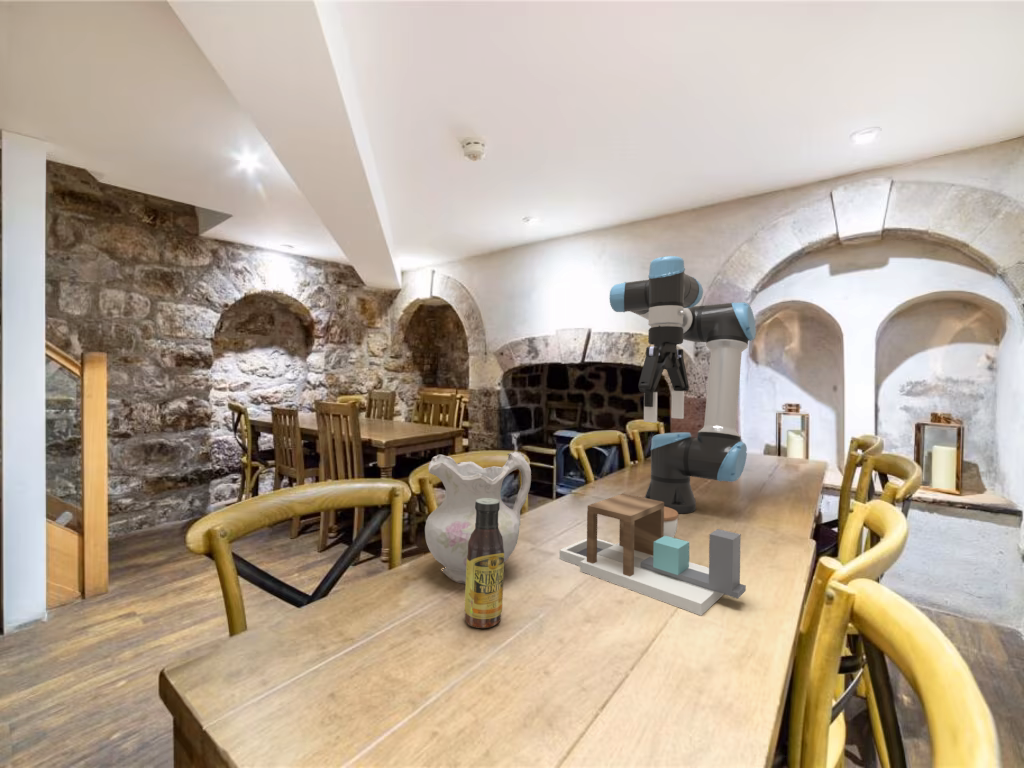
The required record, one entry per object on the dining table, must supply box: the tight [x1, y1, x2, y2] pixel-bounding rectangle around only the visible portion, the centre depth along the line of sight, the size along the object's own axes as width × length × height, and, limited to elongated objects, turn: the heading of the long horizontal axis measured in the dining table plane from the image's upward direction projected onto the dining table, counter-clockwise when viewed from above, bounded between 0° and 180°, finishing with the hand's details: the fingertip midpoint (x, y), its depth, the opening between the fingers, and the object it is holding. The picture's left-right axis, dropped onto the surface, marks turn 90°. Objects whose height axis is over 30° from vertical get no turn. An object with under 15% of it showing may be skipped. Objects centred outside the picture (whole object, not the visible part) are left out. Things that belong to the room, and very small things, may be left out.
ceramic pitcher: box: [424, 450, 532, 585], centre depth 94 cm, size 22×20×25 cm
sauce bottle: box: [464, 498, 505, 629], centre depth 75 cm, size 6×6×20 cm
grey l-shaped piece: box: [640, 528, 747, 599], centre depth 87 cm, size 4×18×10 cm, turn 46°
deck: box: [559, 537, 725, 616], centre depth 94 cm, size 16×32×2 cm, turn 46°
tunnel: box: [586, 493, 664, 577], centre depth 96 cm, size 14×10×12 cm
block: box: [653, 536, 690, 575], centre depth 89 cm, size 5×5×5 cm
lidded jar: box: [664, 506, 679, 538], centre depth 112 cm, size 11×11×9 cm
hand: (664, 420), depth 104 cm, fingers open, 13 cm apart
